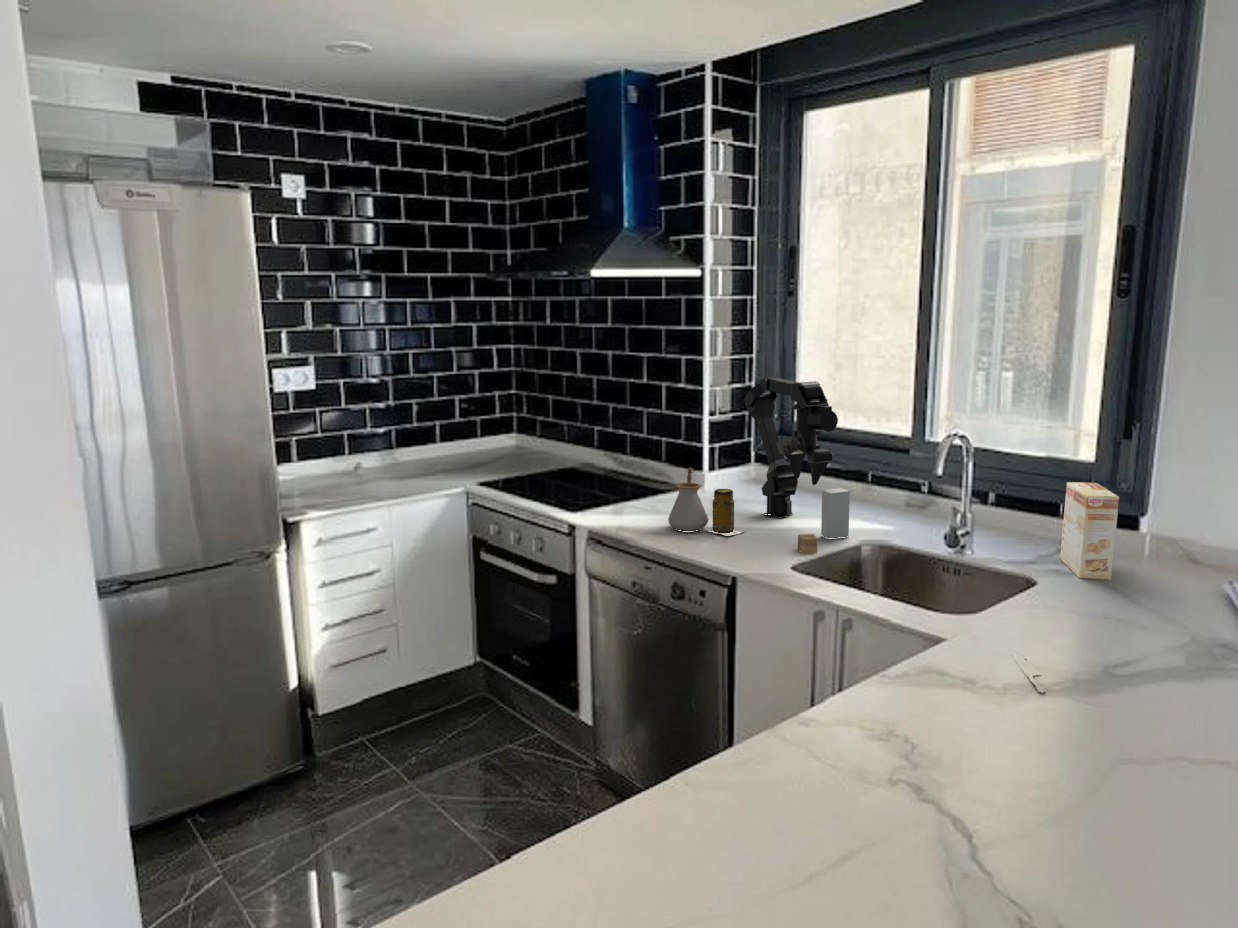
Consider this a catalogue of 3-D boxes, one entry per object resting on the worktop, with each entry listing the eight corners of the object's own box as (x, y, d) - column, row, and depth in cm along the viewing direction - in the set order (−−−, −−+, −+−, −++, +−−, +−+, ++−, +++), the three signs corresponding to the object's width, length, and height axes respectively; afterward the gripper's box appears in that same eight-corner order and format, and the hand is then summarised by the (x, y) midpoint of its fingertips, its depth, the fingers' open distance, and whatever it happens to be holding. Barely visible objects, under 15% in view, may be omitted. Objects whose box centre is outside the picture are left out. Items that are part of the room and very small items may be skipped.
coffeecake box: (1112, 580, 192) (1120, 496, 189) (1078, 578, 194) (1085, 495, 190) (1090, 559, 207) (1097, 482, 203) (1058, 558, 208) (1065, 481, 204)
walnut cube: (797, 548, 221) (797, 534, 220) (812, 548, 221) (813, 533, 220) (801, 553, 217) (801, 538, 216) (816, 553, 217) (817, 538, 216)
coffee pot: (708, 535, 235) (708, 482, 232) (666, 534, 237) (666, 482, 234) (709, 515, 256) (709, 466, 253) (671, 514, 257) (671, 466, 255)
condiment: (723, 527, 243) (723, 486, 241) (745, 532, 237) (745, 491, 234) (705, 532, 238) (705, 490, 236) (727, 538, 232) (727, 495, 230)
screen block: (821, 536, 232) (822, 490, 229) (840, 533, 233) (841, 488, 231) (829, 540, 228) (830, 493, 225) (848, 537, 230) (849, 491, 227)
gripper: (764, 424, 243) (764, 477, 246) (799, 433, 225) (797, 491, 228) (798, 421, 246) (797, 474, 249) (835, 430, 229) (833, 487, 232)
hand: (805, 481), depth 240 cm, fingers open, 9 cm apart
